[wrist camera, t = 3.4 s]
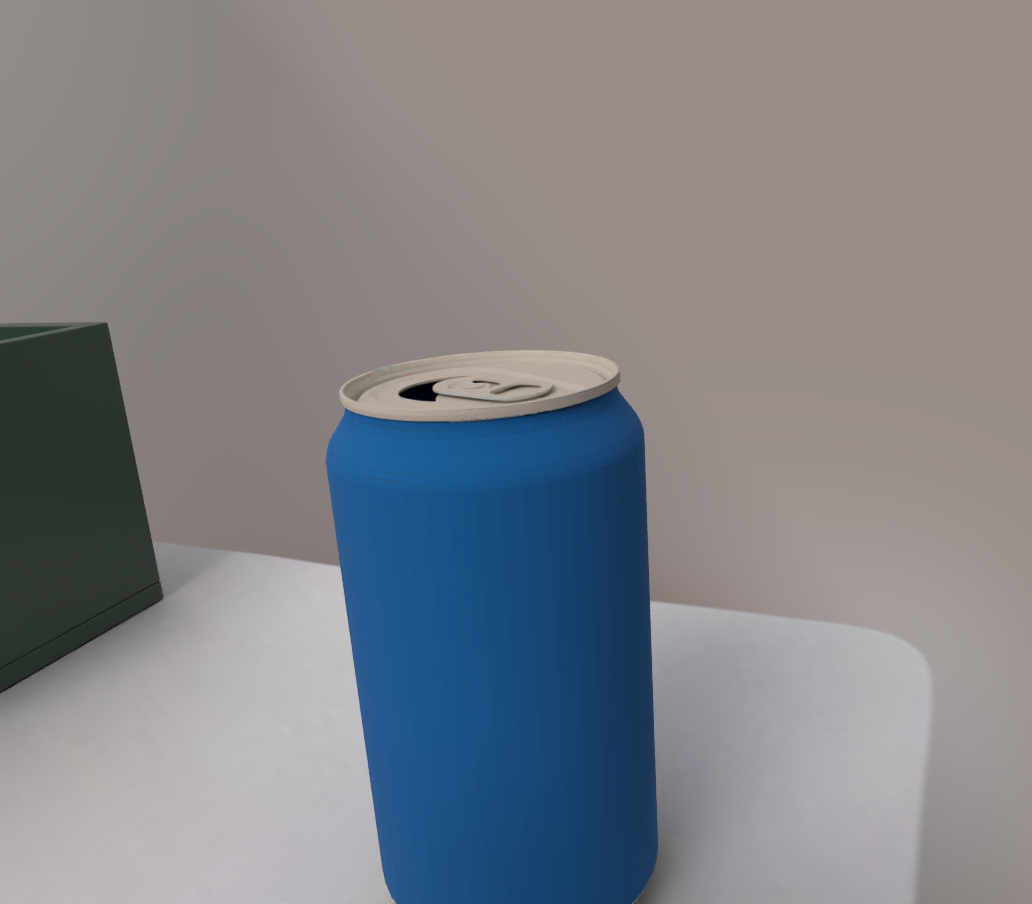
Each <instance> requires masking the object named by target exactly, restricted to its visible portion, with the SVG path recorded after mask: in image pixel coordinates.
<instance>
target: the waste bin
mask: <svg viewBox="0 0 1032 904" xmlns="http://www.w3.org/2000/svg"><path fill="white" fill-rule="evenodd" d="M159 580H160V579H159V574H158V569H157V564H156V559H155V554H154V549H153V544H152V539H151V534H150V529H149V524H148V520H147V515H146V510H145V506H144V501H143V495H142V490H141V485H140V480H139V475H138V471H137V466H136V461H135V456H134V451H133V446H132V441H131V436H130V431H129V426H128V421H127V416H126V411H125V406H124V401H123V396H122V392H121V387H120V382H119V377H118V372H117V367H116V362H115V357H114V352H113V347H112V342H111V338H110V333H109V328H108V324H107V323H105V322H93V323H91V322H88V323H85V322H84V323H15V324H14V323H13V324H0V692H1V691H2V690H4V689H6V688H8V687H9V686H11V685H13V684H15V683H16V682H18V681H20V680H22V679H23V678H25V677H27V676H28V675H30V674H32V673H34V672H35V671H37V670H39V669H41V668H42V667H44V666H46V665H48V664H49V663H51V662H53V661H54V660H56V659H58V658H60V657H61V656H63V655H65V654H67V653H68V652H70V651H72V650H74V649H75V648H77V647H79V646H80V645H82V644H84V643H86V642H87V641H89V640H91V639H93V638H94V637H96V636H98V635H100V634H101V633H103V632H105V631H106V630H108V629H110V628H112V627H113V626H115V625H117V624H119V623H120V622H122V621H124V620H126V619H127V618H129V617H131V616H132V615H134V614H136V613H138V612H139V611H141V610H143V609H145V608H146V607H148V606H150V605H152V604H153V603H155V602H157V601H158V600H160V599H162V598H163V593H162V588H161V583H160V581H159Z"/></svg>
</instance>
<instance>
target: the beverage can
mask: <svg viewBox="0 0 1032 904" xmlns="http://www.w3.org/2000/svg"><path fill="white" fill-rule="evenodd" d="M619 382H620V369H619V367H618V365H617V364H616V363H614V362H613V361H611V360H609V359H606V358H603V357H599V356H595V355H590V354H585V353H577V352H565V351H549V350H548V351H547V350H514V351H513V350H512V351H490V352H478V353H466V354H456V355H448V356H440V357H433V358H426V359H420V360H415V361H409V362H404V363H400V364H395V365H391V366H387V367H383V368H380V369H376V370H373V371H370V372H367V373H364V374H361V375H359V376H357V377H355V378H353V379H351V380H349V381H348V382H346V383H345V384H344V385H343V386H342V387H341V389H340V400H341V403H342V405H343V406H344V407H345V413H344V416H343V418H342V420H341V421H340V423H339V425H338V427H337V428H336V430H335V432H334V433H333V435H332V437H331V439H330V441H329V445H328V449H327V455H326V465H327V473H328V480H329V487H330V494H331V502H332V509H333V516H334V523H335V530H336V537H337V545H338V552H339V559H340V566H341V573H342V581H343V588H344V595H345V602H346V609H347V617H348V624H349V631H350V638H351V645H352V652H353V660H354V667H355V674H356V681H357V688H358V696H359V703H360V710H361V717H362V724H363V731H364V739H365V746H366V753H367V760H368V767H369V774H370V782H371V789H372V796H373V803H374V810H375V818H376V825H377V832H378V839H379V846H380V853H381V861H382V868H383V873H384V878H385V882H386V885H387V887H388V890H389V892H390V894H391V896H392V898H393V900H394V901H395V903H396V904H634V903H635V902H636V901H637V899H638V898H639V897H640V895H641V894H642V892H643V891H644V890H645V888H646V886H647V884H648V882H649V880H650V878H651V876H652V874H653V870H654V867H655V864H656V860H657V851H658V831H657V801H656V771H655V742H654V712H653V682H652V652H651V622H650V593H649V563H648V536H647V534H648V533H647V503H646V475H645V474H646V473H645V446H644V445H645V444H644V431H643V427H642V424H641V422H640V420H639V418H638V416H637V414H636V413H635V411H634V410H633V409H632V407H631V406H630V405H629V404H628V402H627V401H626V400H625V399H624V397H623V396H622V395H621V394H620V392H619V391H618V388H617V385H618V384H619Z"/></svg>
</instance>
